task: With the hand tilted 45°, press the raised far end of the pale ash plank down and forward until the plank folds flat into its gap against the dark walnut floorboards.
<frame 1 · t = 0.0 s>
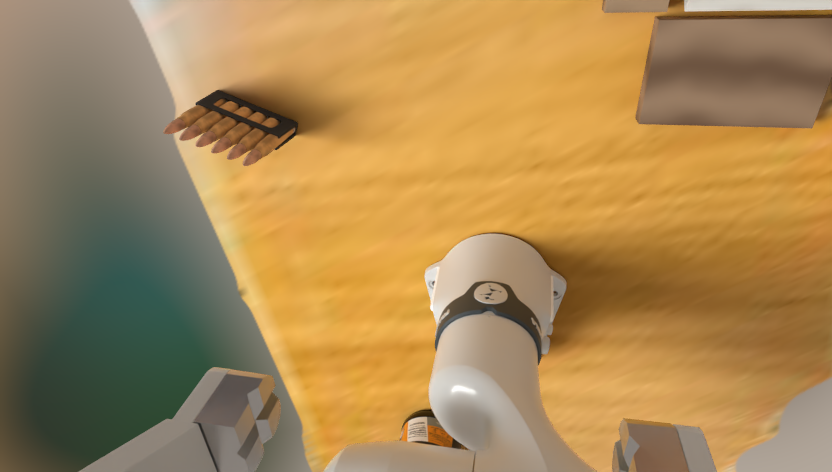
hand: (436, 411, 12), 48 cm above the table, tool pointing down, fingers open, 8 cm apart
ammunition clip: (257, 112, 62), on the table
walnut boards: (747, 10, 47), on the table
supplement container: (433, 427, 87), on the table
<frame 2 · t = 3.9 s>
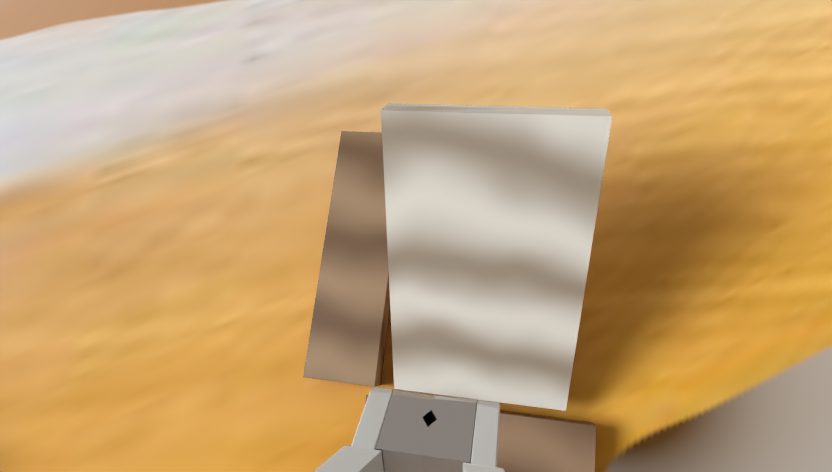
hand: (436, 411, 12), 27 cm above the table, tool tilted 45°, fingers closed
ash plank: (484, 269, 31), point 8 cm above the table, hinge at 40.0°
walnut boards: (478, 400, 37), on the table
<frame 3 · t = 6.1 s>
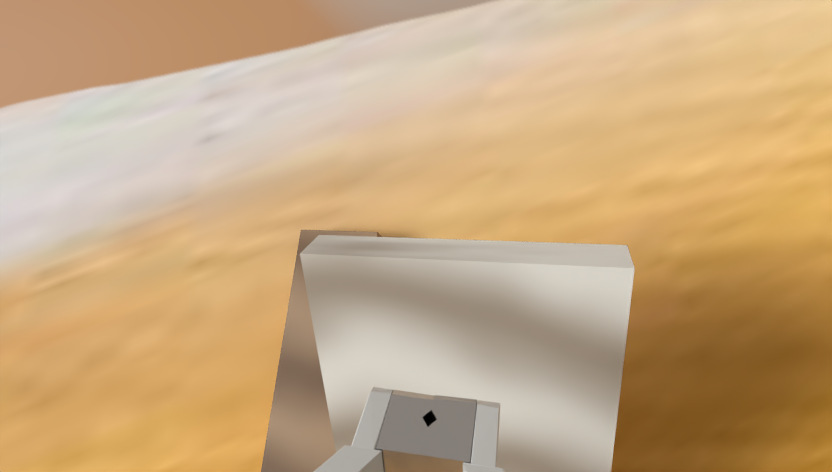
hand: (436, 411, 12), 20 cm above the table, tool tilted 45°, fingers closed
ash plank: (465, 449, 23), point 8 cm above the table, hinge at 40.0°
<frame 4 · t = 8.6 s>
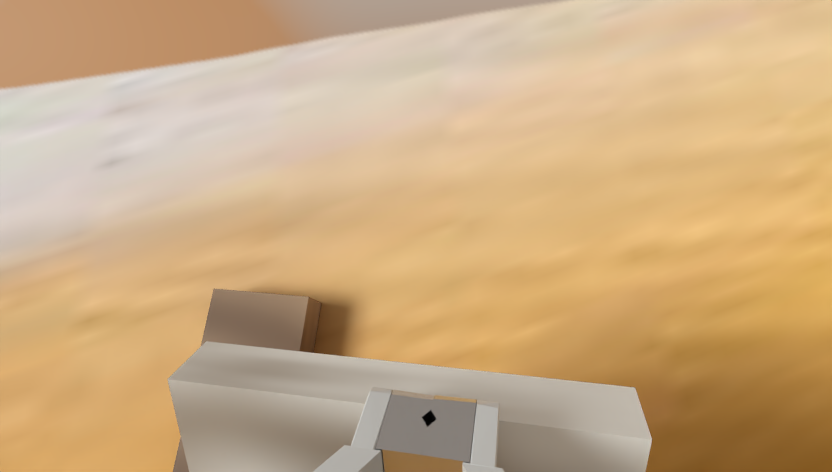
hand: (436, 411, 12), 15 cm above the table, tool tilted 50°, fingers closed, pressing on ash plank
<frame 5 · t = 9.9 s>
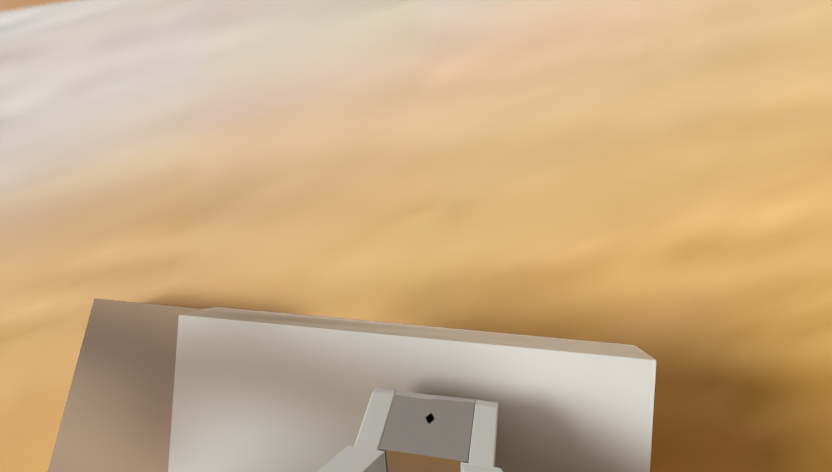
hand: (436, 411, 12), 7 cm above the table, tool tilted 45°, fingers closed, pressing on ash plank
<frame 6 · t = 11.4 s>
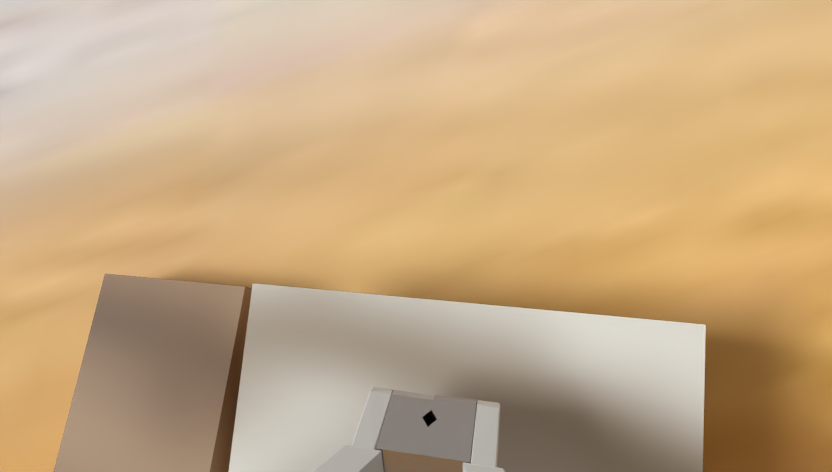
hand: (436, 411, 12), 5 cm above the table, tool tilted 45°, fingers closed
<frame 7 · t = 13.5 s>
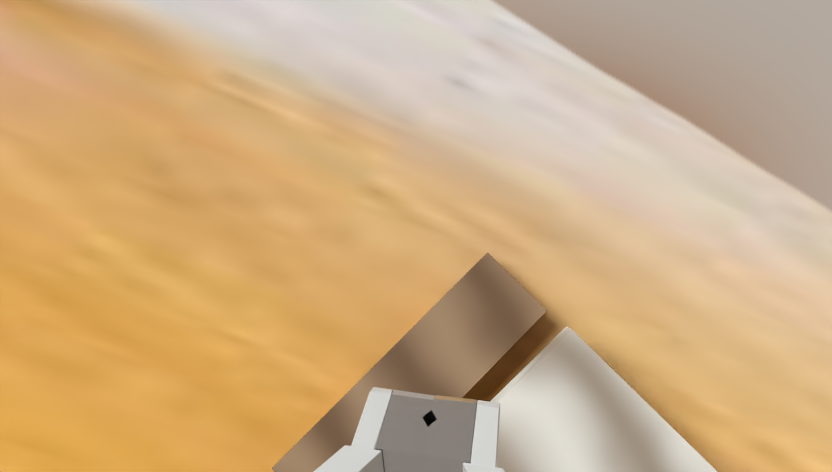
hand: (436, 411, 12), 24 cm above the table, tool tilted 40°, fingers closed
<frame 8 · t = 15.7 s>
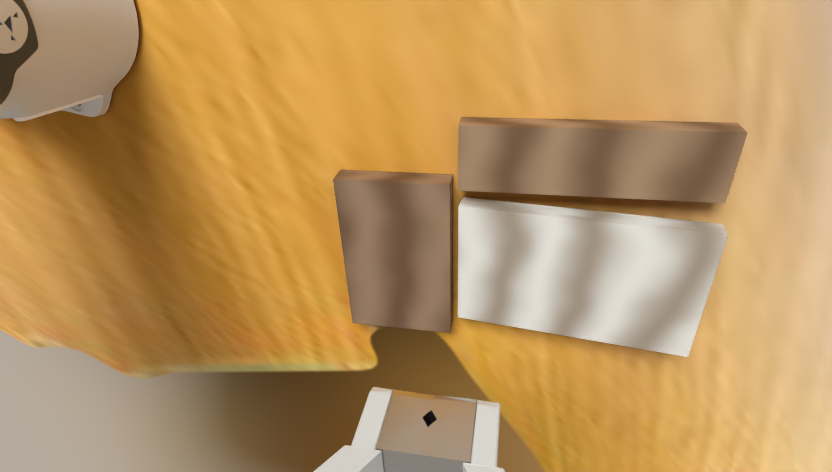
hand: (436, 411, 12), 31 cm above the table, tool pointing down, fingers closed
ash plank: (574, 276, 43), point 2 cm above the table, hinge at 6.8°
walnut boards: (458, 253, 47), on the table
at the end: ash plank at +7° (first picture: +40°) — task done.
